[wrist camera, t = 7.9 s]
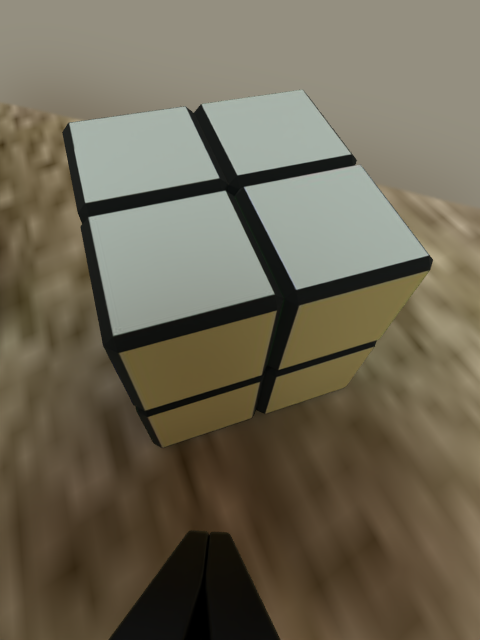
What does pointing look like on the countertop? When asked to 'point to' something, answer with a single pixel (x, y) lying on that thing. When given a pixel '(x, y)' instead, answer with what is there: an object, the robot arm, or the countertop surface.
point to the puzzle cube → (235, 257)
